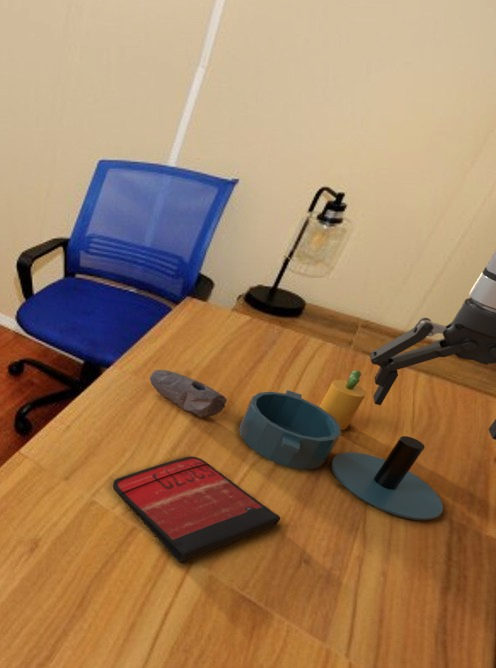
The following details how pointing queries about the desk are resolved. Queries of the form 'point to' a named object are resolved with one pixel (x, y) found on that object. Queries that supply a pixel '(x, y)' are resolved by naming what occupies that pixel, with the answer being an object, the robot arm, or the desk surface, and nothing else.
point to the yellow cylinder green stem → (343, 399)
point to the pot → (289, 430)
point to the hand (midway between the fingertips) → (432, 417)
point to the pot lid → (389, 481)
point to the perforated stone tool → (188, 393)
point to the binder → (192, 506)
